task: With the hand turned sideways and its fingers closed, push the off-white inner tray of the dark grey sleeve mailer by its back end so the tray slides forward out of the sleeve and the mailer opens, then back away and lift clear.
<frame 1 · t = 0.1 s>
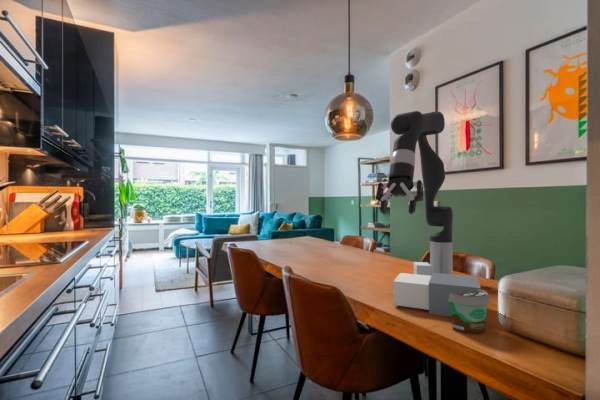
hand: (396, 213, 95), 31 cm above the table, tool tilted 20°, fingers open, 8 cm apart
sleeve: (454, 309, 100), on the table
tray: (435, 292, 102), point 5 cm above the table, slide at 0.0 cm
small box: (422, 290, 122), on the table
food container: (474, 331, 82), on the table
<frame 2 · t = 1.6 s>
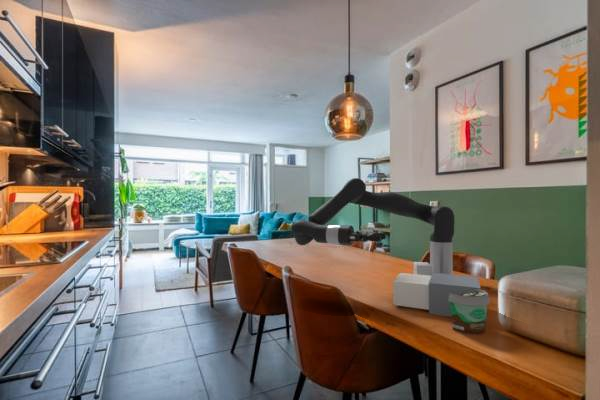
hand: (383, 237, 110), 22 cm above the table, tool horizontal, fingers open, 8 cm apart
nothing on the table moved.
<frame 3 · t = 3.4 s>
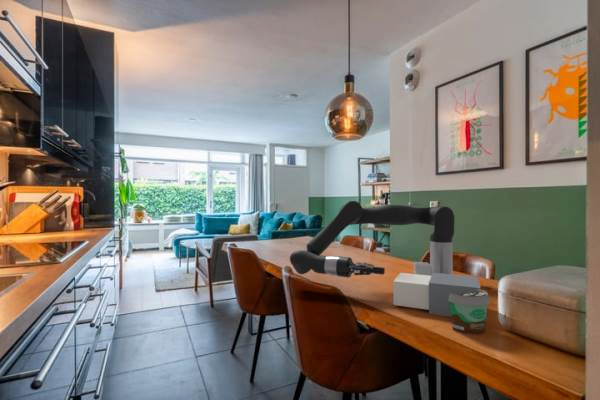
hand: (384, 271, 110), 10 cm above the table, tool horizontal, fingers closed
nothing on the table moved.
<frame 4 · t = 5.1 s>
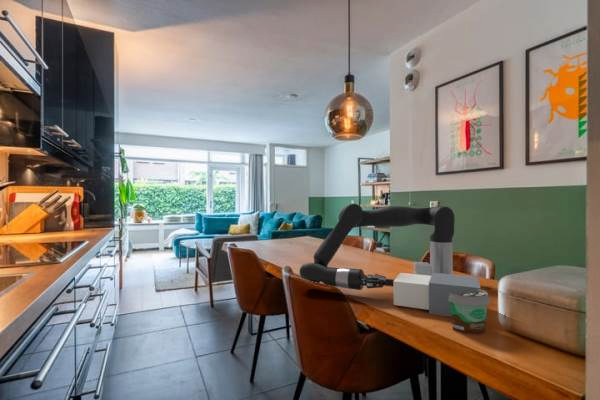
hand: (397, 283, 108), 6 cm above the table, tool horizontal, fingers closed
tray: (435, 292, 102), point 5 cm above the table, slide at 0.0 cm, touching gripper
everything else where it was.
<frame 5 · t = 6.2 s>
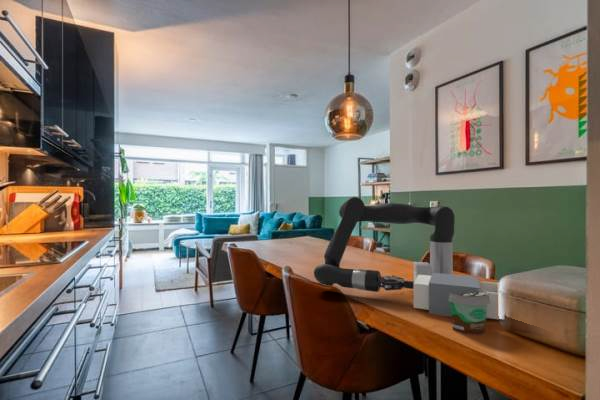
hand: (416, 285, 105), 6 cm above the table, tool horizontal, fingers closed
tray: (456, 294, 99), point 5 cm above the table, slide at 6.3 cm, touching gripper
everything else where it was.
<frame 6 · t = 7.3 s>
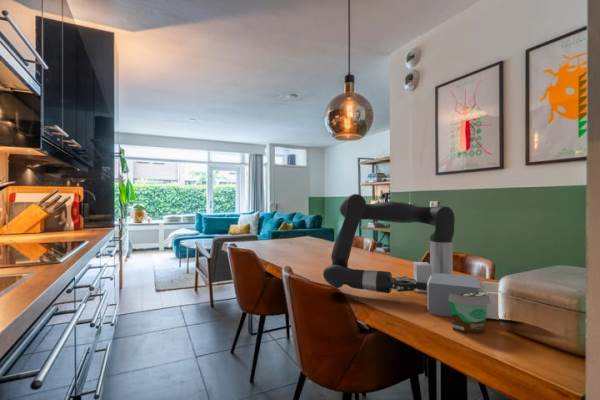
hand: (428, 286, 103), 6 cm above the table, tool horizontal, fingers closed
tray: (470, 296, 97), point 5 cm above the table, slide at 10.4 cm, touching gripper
everything else where it was.
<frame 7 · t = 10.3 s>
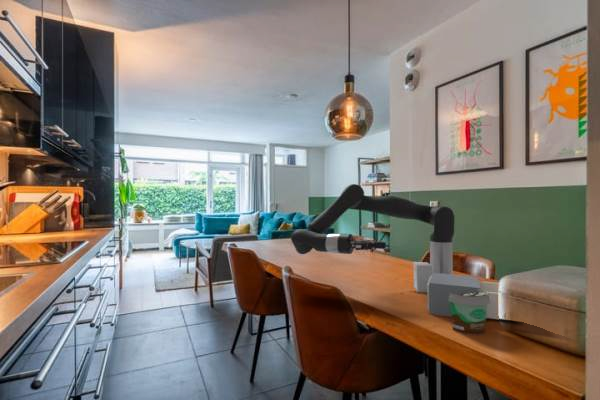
hand: (385, 245, 110), 20 cm above the table, tool horizontal, fingers closed
tray: (471, 296, 97), point 5 cm above the table, slide at 10.5 cm
everything else where it was.
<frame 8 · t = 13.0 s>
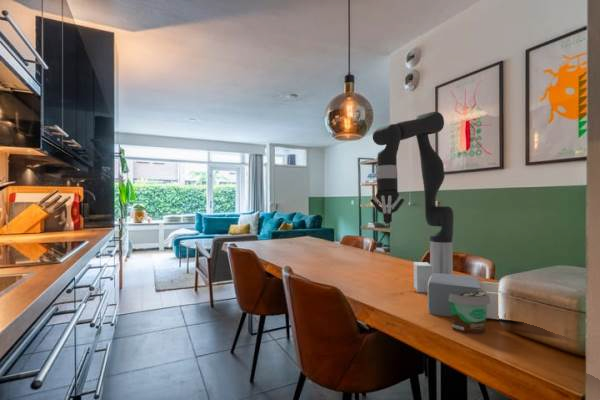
hand: (387, 223, 116), 27 cm above the table, tool pointing down, fingers closed
nothing on the table moved.
at the end: tray slide at 10.5 cm; small box moved 0.3 cm from its start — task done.
